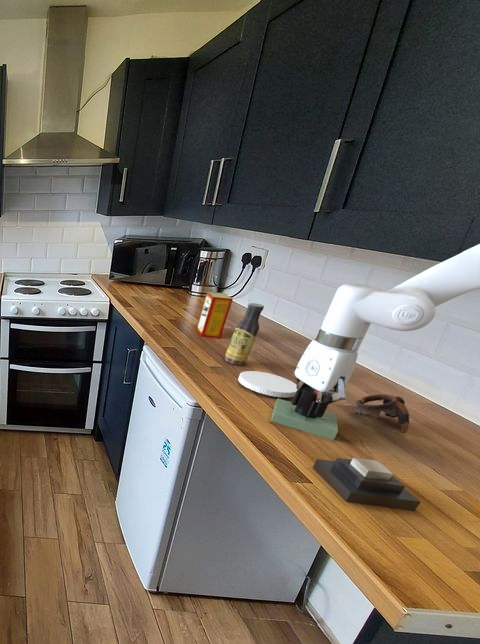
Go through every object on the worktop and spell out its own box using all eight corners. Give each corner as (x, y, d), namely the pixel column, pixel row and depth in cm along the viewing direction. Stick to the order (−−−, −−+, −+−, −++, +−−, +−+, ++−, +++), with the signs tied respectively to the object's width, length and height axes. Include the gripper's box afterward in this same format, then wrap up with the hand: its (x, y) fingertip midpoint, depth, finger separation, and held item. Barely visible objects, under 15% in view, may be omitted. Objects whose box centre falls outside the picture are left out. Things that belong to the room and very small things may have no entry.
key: (372, 467, 76) (376, 460, 76) (388, 481, 73) (393, 473, 72) (349, 464, 77) (353, 457, 76) (364, 478, 73) (368, 470, 73)
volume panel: (332, 423, 99) (337, 413, 97) (333, 440, 91) (338, 430, 90) (273, 406, 105) (277, 397, 104) (270, 421, 98) (274, 412, 97)
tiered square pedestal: (373, 475, 80) (382, 459, 78) (414, 511, 71) (426, 493, 69) (312, 467, 82) (320, 451, 80) (345, 501, 73) (355, 484, 71)
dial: (290, 407, 100) (300, 385, 97) (310, 410, 99) (320, 387, 96) (300, 416, 96) (311, 393, 93) (321, 419, 95) (332, 395, 92)
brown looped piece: (403, 440, 93) (393, 408, 93) (352, 435, 102) (343, 406, 101) (425, 416, 98) (416, 386, 97) (374, 414, 107) (365, 386, 106)
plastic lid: (273, 379, 121) (276, 372, 120) (308, 402, 108) (311, 393, 107) (227, 377, 121) (229, 369, 120) (256, 399, 108) (259, 391, 107)
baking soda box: (196, 329, 165) (207, 290, 158) (213, 331, 163) (225, 292, 157) (201, 336, 156) (213, 296, 150) (220, 338, 155) (233, 298, 148)
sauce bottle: (219, 360, 134) (238, 302, 126) (231, 357, 137) (250, 300, 128) (238, 367, 129) (258, 307, 121) (250, 365, 131) (271, 306, 123)
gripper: (295, 327, 97) (268, 393, 105) (351, 353, 82) (315, 428, 89) (326, 329, 97) (297, 395, 105) (389, 356, 82) (350, 431, 89)
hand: (306, 410), depth 97 cm, fingers open, 4 cm apart
